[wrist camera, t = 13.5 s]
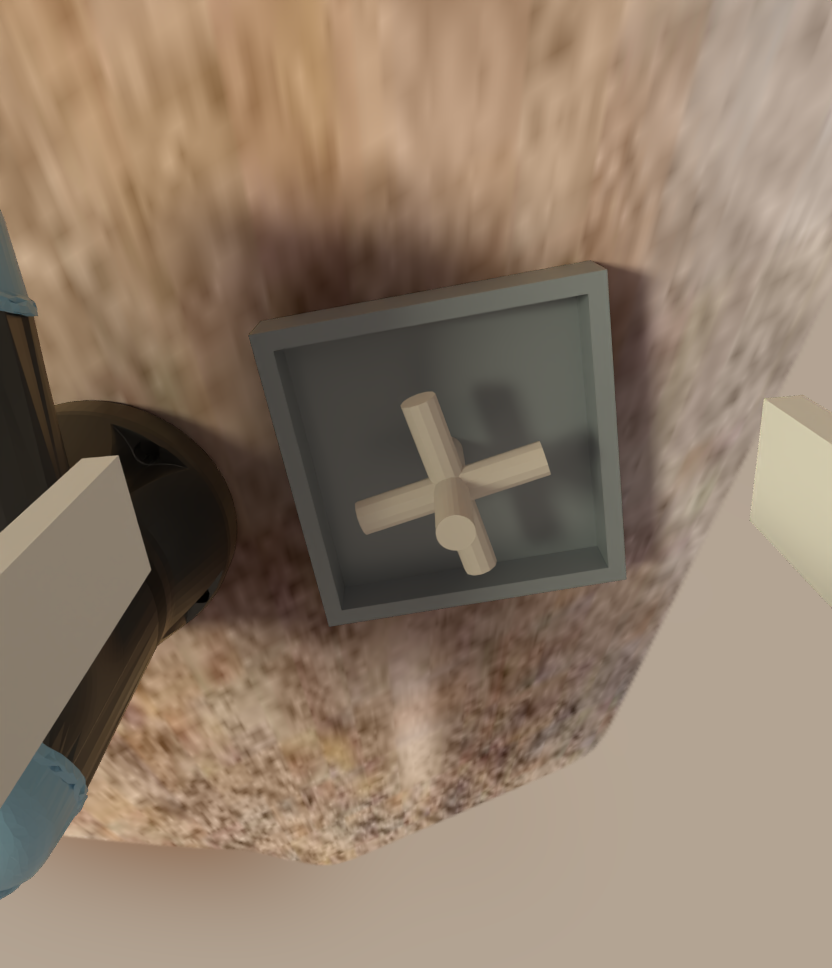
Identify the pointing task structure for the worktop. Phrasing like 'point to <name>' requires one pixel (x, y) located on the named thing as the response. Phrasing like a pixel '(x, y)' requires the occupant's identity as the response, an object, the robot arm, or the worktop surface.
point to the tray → (470, 419)
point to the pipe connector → (450, 486)
